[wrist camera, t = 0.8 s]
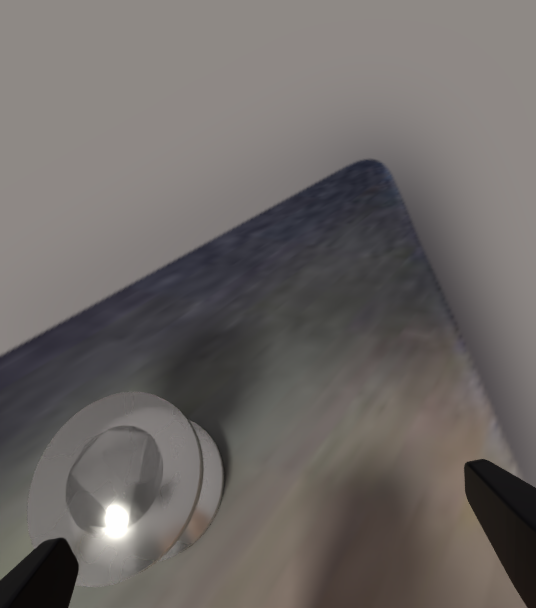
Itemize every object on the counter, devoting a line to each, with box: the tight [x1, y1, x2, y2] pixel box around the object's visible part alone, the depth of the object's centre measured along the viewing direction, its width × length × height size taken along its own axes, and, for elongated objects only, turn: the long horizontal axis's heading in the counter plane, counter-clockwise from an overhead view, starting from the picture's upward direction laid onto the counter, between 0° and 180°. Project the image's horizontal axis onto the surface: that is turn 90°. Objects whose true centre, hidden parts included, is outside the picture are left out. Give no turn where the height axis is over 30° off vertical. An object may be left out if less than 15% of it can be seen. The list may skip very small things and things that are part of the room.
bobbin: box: [27, 392, 225, 587], centre depth 16 cm, size 7×7×6 cm
